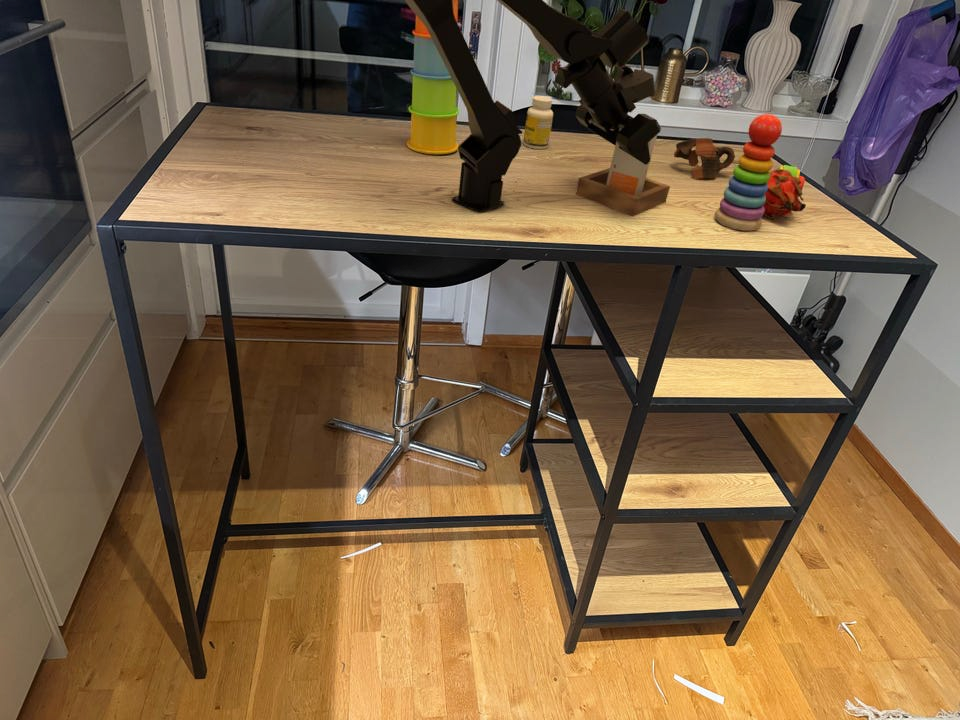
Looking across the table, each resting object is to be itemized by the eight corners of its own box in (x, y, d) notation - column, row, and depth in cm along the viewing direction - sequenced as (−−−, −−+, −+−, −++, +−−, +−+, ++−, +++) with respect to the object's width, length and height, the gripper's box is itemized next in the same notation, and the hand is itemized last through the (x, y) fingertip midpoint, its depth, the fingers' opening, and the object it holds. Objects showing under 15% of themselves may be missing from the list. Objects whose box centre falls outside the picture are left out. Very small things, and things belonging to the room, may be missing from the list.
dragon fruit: (762, 207, 137) (777, 242, 128) (736, 180, 134) (749, 213, 125) (802, 178, 132) (820, 212, 124) (776, 149, 129) (793, 182, 120)
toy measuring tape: (761, 205, 134) (773, 171, 131) (764, 177, 150) (774, 146, 146) (796, 213, 133) (809, 179, 129) (795, 183, 148) (806, 152, 145)
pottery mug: (678, 181, 143) (675, 139, 142) (671, 187, 152) (669, 148, 151) (740, 173, 141) (737, 131, 140) (729, 181, 151) (727, 141, 150)
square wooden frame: (575, 194, 128) (578, 178, 126) (631, 174, 141) (635, 159, 139) (632, 216, 122) (636, 199, 120) (685, 193, 135) (689, 178, 133)
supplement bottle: (519, 141, 151) (525, 94, 146) (542, 142, 153) (549, 95, 148) (527, 149, 147) (535, 101, 142) (551, 150, 149) (559, 102, 143)
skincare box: (604, 191, 127) (619, 123, 121) (610, 185, 131) (626, 119, 124) (636, 199, 125) (653, 131, 119) (642, 194, 129) (659, 127, 122)
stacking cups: (424, 158, 135) (439, -51, 116) (397, 142, 141) (406, -58, 122) (468, 153, 140) (489, -47, 121) (439, 137, 147) (455, -54, 128)
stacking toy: (724, 211, 129) (757, 105, 119) (766, 225, 125) (804, 117, 115) (706, 221, 124) (739, 111, 113) (749, 236, 120) (788, 124, 110)
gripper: (666, 66, 107) (704, 140, 117) (605, 40, 121) (643, 109, 131) (610, 118, 108) (652, 187, 118) (556, 87, 122) (597, 150, 132)
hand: (636, 155), depth 125 cm, fingers closed on skincare box, 7 cm apart
